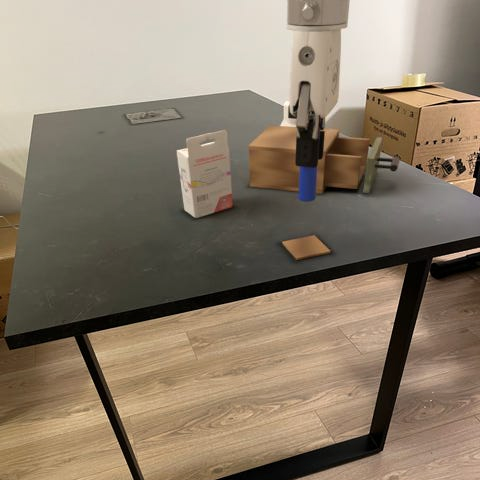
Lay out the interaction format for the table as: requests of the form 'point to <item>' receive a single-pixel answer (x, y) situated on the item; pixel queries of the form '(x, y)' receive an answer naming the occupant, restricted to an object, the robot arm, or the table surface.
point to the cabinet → (282, 159)
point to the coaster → (306, 247)
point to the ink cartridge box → (205, 174)
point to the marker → (308, 181)
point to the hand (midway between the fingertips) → (309, 161)
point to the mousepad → (153, 116)
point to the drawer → (354, 163)
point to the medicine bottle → (288, 116)
